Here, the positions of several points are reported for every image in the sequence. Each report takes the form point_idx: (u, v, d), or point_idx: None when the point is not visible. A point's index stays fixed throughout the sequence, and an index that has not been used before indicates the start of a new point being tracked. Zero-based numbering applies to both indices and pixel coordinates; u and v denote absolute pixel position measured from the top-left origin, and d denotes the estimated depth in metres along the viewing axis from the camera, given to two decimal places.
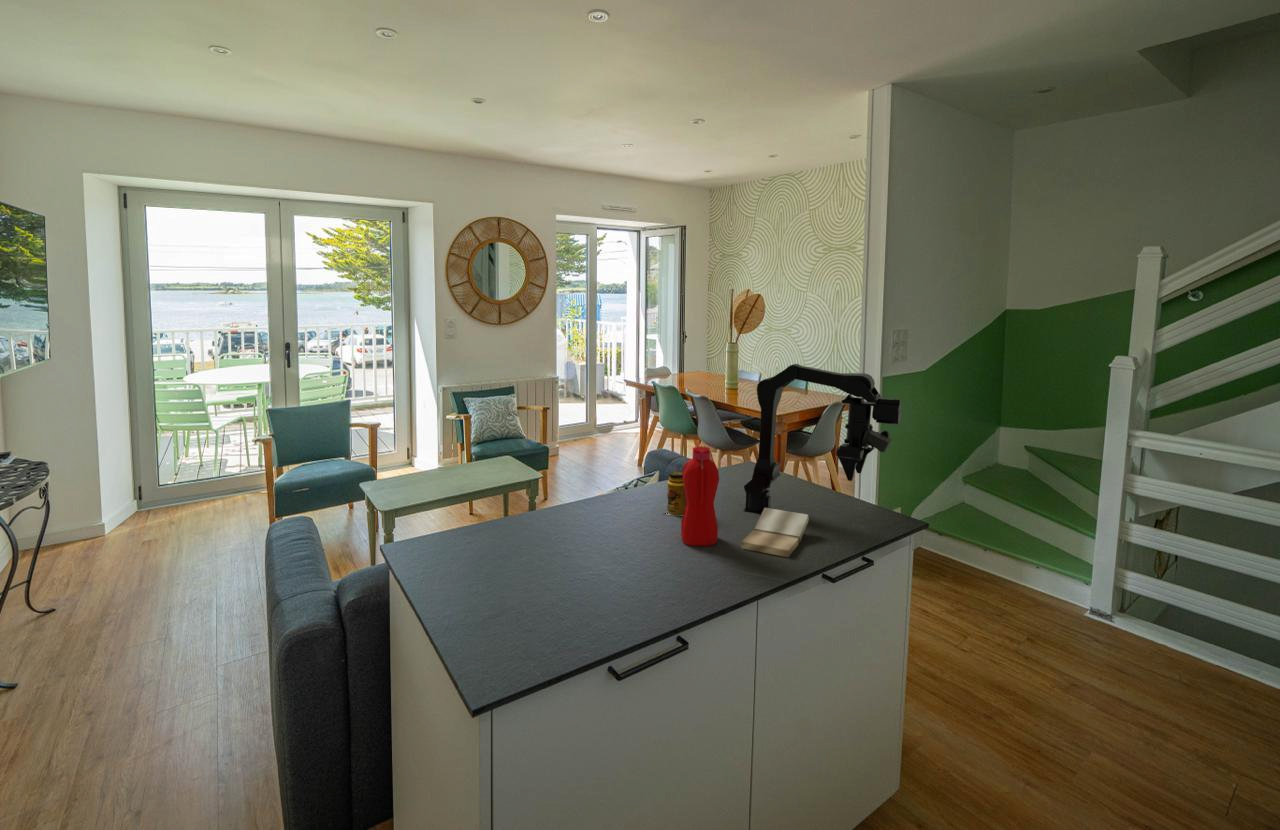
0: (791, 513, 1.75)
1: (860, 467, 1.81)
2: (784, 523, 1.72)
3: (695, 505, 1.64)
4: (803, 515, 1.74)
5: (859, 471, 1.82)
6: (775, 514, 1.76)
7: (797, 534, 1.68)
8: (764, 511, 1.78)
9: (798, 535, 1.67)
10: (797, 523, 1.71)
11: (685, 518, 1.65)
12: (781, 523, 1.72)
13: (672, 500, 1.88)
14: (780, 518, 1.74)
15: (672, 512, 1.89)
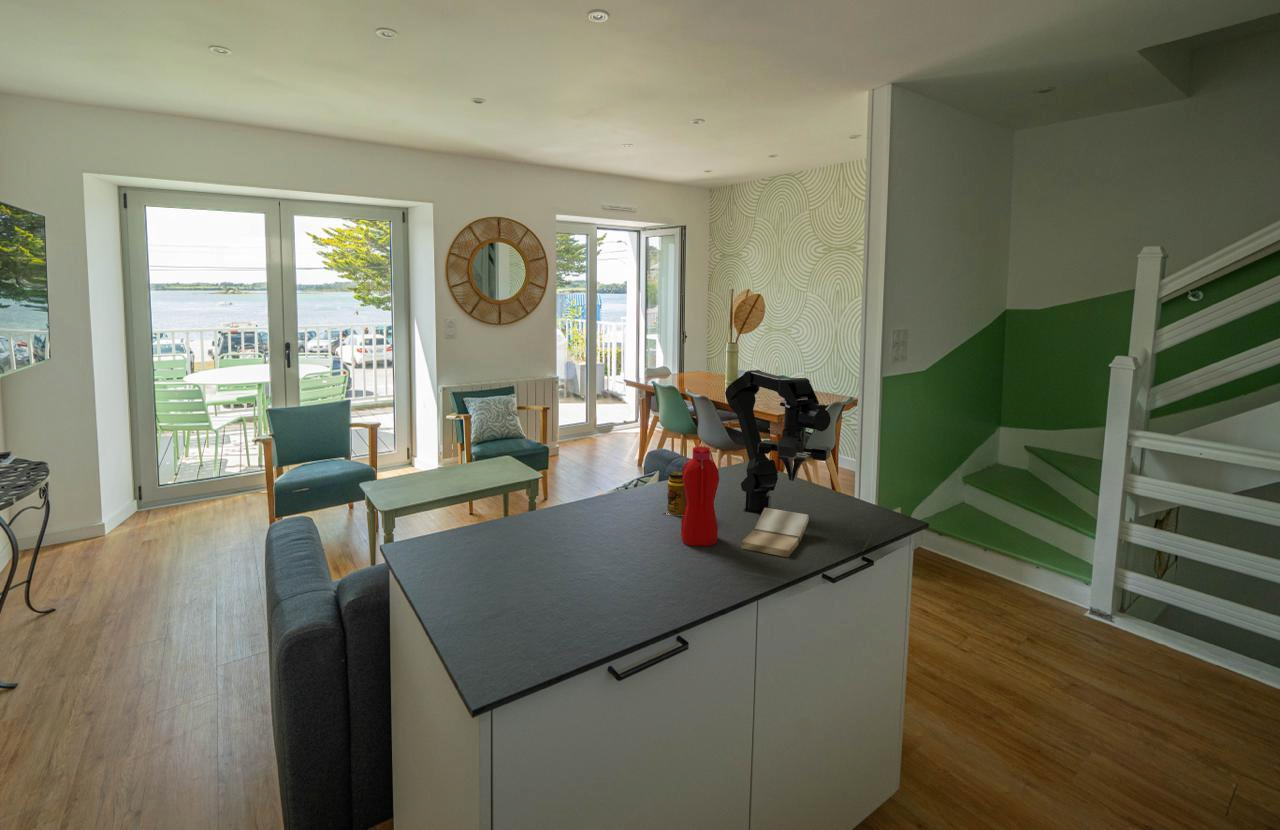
0: (791, 513, 1.75)
1: None
2: (784, 523, 1.72)
3: (695, 505, 1.64)
4: (803, 515, 1.74)
5: None
6: (775, 514, 1.76)
7: (797, 534, 1.68)
8: (764, 511, 1.78)
9: (798, 535, 1.67)
10: (797, 523, 1.71)
11: (685, 518, 1.65)
12: (781, 523, 1.72)
13: (672, 500, 1.88)
14: (780, 518, 1.74)
15: (672, 512, 1.89)
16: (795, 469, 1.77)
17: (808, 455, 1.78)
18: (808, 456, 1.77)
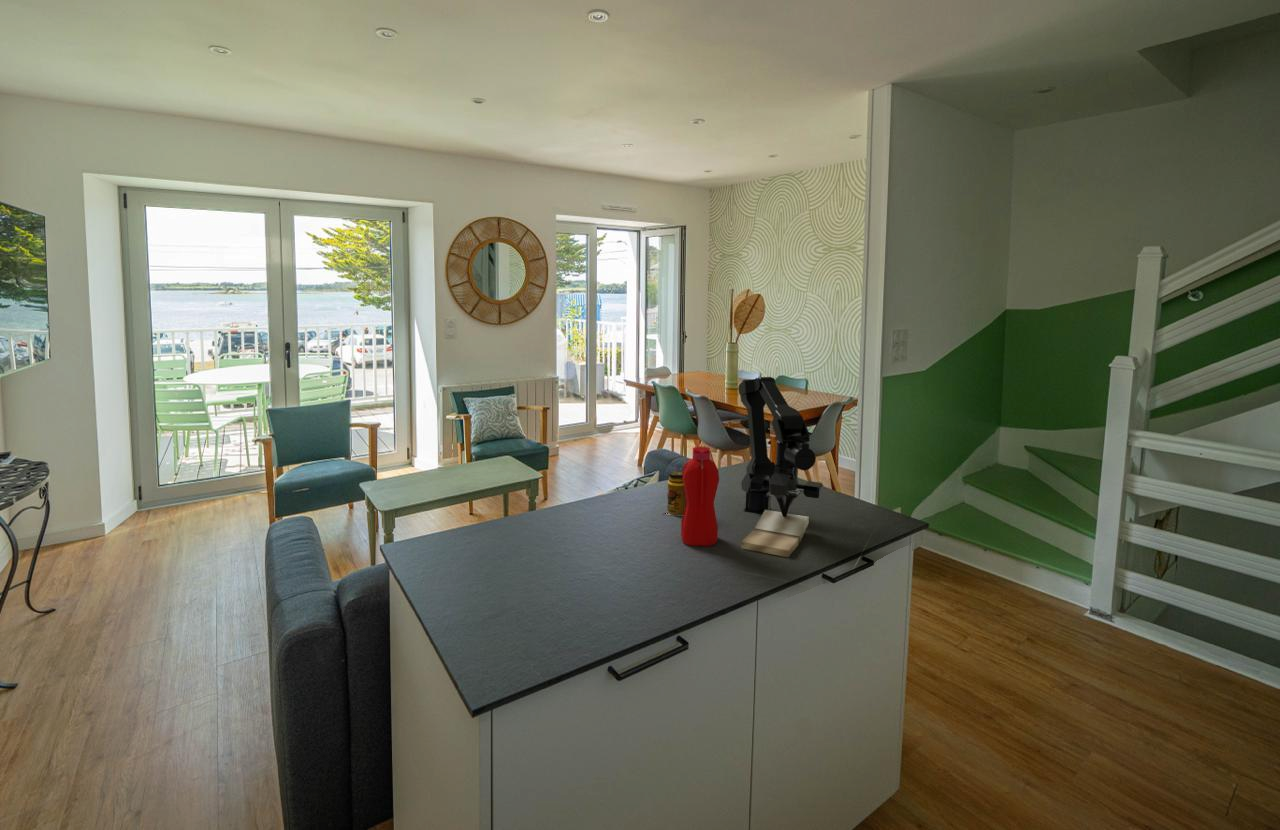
0: (791, 515, 1.76)
1: None
2: (784, 524, 1.72)
3: (695, 505, 1.64)
4: (803, 517, 1.74)
5: None
6: (776, 516, 1.76)
7: (797, 534, 1.68)
8: (764, 513, 1.78)
9: (798, 535, 1.67)
10: (797, 523, 1.72)
11: (685, 518, 1.65)
12: (782, 524, 1.72)
13: (672, 500, 1.88)
14: (780, 520, 1.74)
15: (672, 512, 1.89)
16: (787, 505, 1.73)
17: (800, 490, 1.75)
18: (800, 492, 1.74)
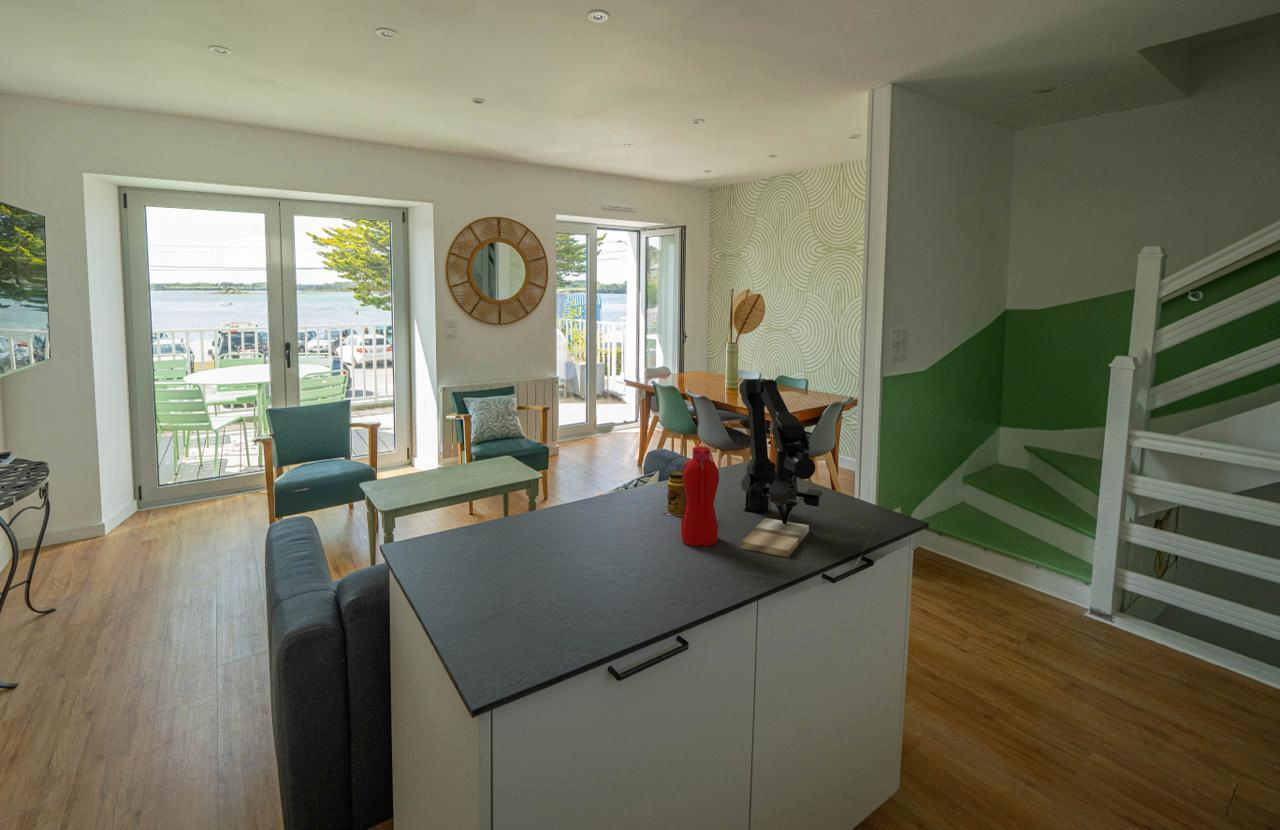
0: (792, 523, 1.77)
1: None
2: (785, 527, 1.73)
3: (695, 505, 1.64)
4: (804, 525, 1.75)
5: None
6: (776, 522, 1.77)
7: (798, 533, 1.68)
8: (765, 519, 1.79)
9: (799, 534, 1.68)
10: (798, 528, 1.73)
11: (685, 518, 1.65)
12: (782, 527, 1.73)
13: (672, 500, 1.88)
14: (781, 524, 1.75)
15: (672, 512, 1.89)
16: (787, 513, 1.74)
17: (800, 498, 1.76)
18: (800, 499, 1.75)
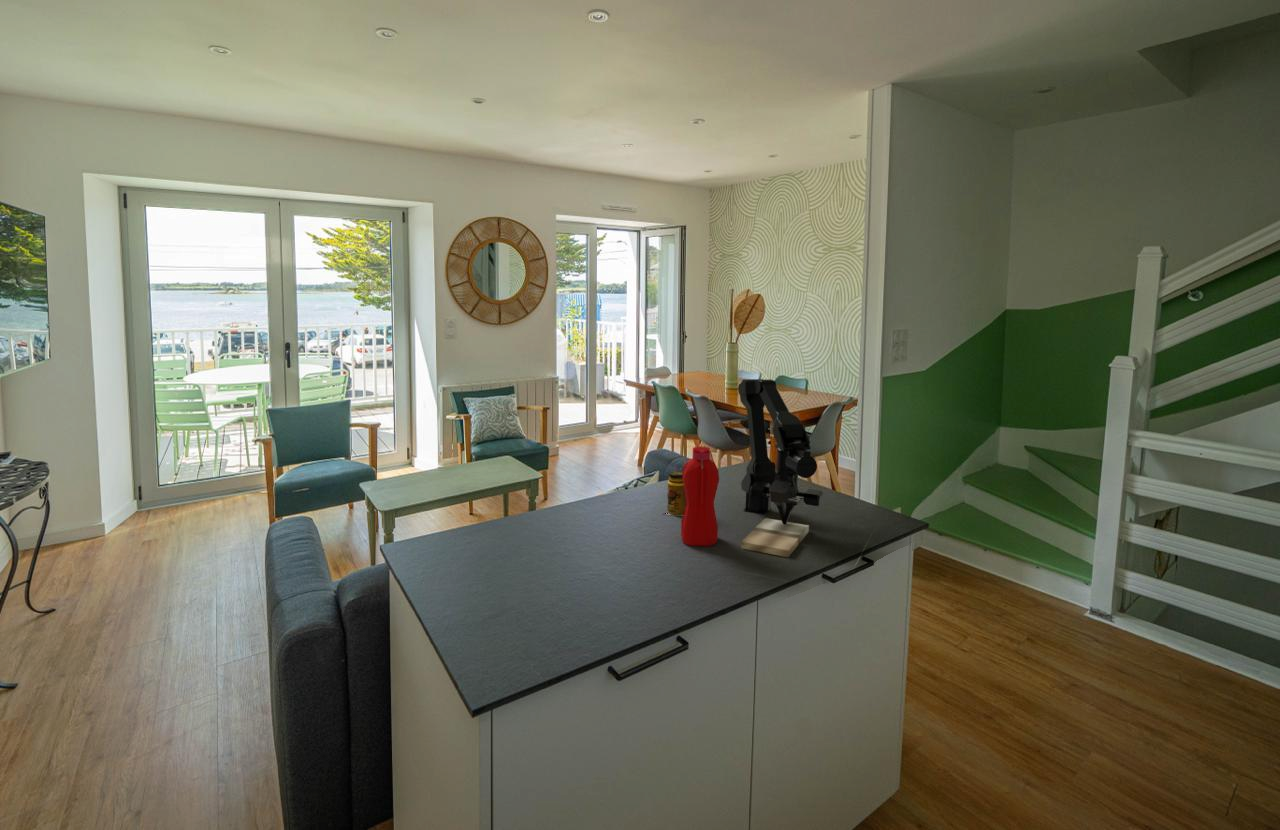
0: (792, 523, 1.77)
1: None
2: (785, 527, 1.73)
3: (695, 505, 1.64)
4: (804, 525, 1.75)
5: None
6: (776, 522, 1.77)
7: (798, 533, 1.68)
8: (765, 519, 1.79)
9: (799, 534, 1.68)
10: (798, 528, 1.73)
11: (685, 518, 1.65)
12: (782, 527, 1.73)
13: (672, 500, 1.88)
14: (781, 524, 1.75)
15: (672, 512, 1.89)
16: (787, 513, 1.74)
17: (800, 498, 1.76)
18: (800, 499, 1.75)
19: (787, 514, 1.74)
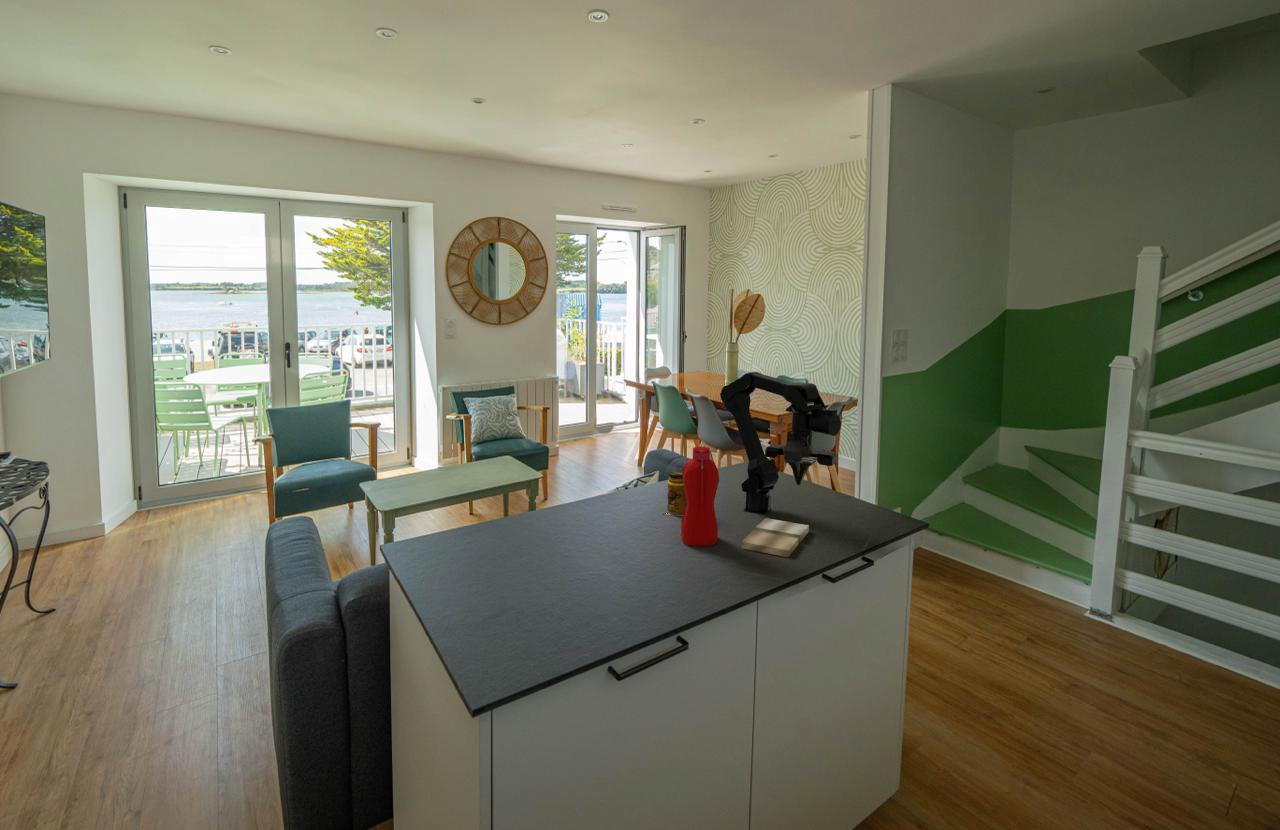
0: (792, 523, 1.77)
1: None
2: (785, 527, 1.73)
3: (695, 505, 1.64)
4: (804, 525, 1.75)
5: None
6: (776, 522, 1.77)
7: (798, 533, 1.68)
8: (765, 519, 1.79)
9: (799, 534, 1.68)
10: (798, 528, 1.73)
11: (685, 518, 1.65)
12: (782, 527, 1.73)
13: (672, 500, 1.88)
14: (781, 524, 1.75)
15: (672, 512, 1.89)
16: (801, 473, 1.78)
17: (815, 460, 1.80)
18: (815, 461, 1.79)
19: (801, 475, 1.79)
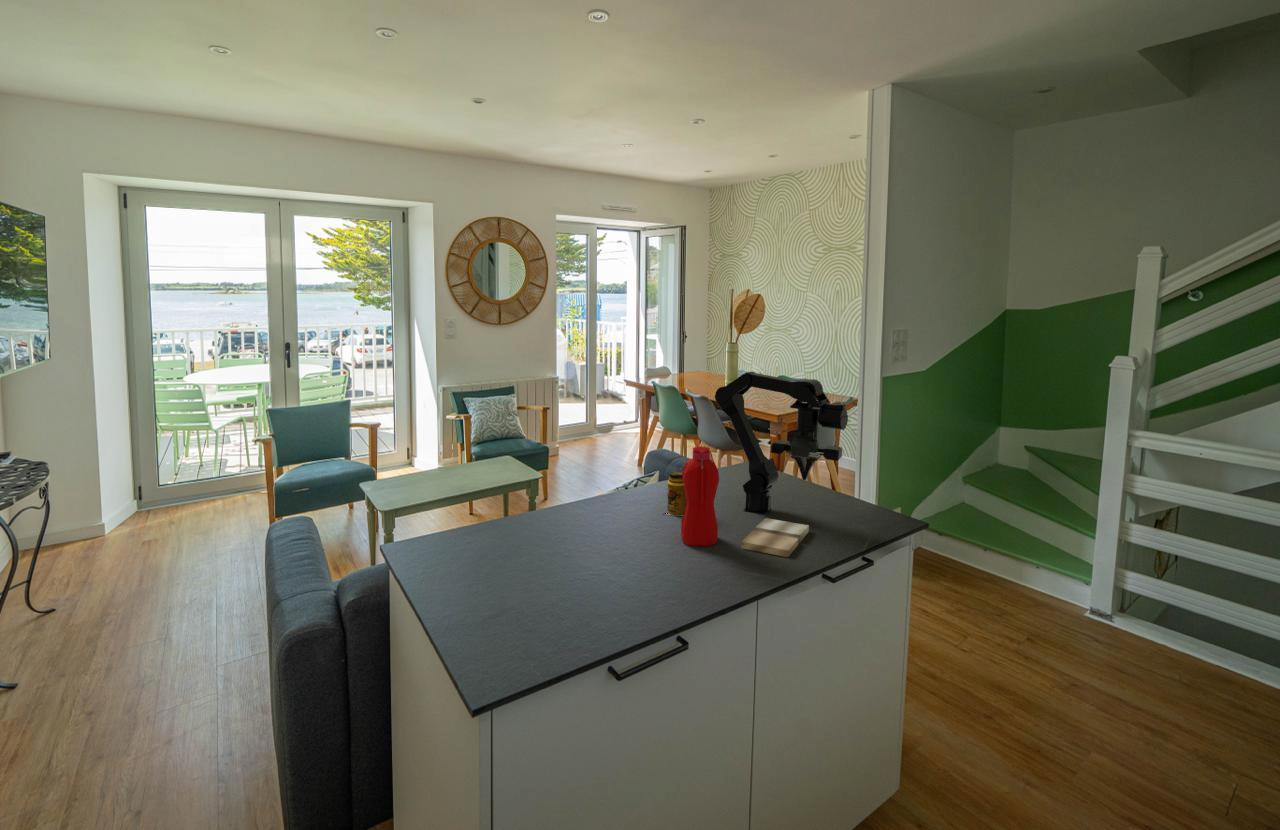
0: (792, 523, 1.77)
1: None
2: (785, 527, 1.73)
3: (695, 505, 1.64)
4: (804, 525, 1.75)
5: None
6: (776, 522, 1.77)
7: (798, 533, 1.68)
8: (765, 519, 1.79)
9: (799, 534, 1.68)
10: (798, 528, 1.73)
11: (685, 518, 1.65)
12: (782, 527, 1.73)
13: (672, 500, 1.88)
14: (781, 524, 1.75)
15: (672, 512, 1.89)
16: (807, 469, 1.81)
17: (820, 455, 1.83)
18: (820, 456, 1.82)
19: (807, 470, 1.81)
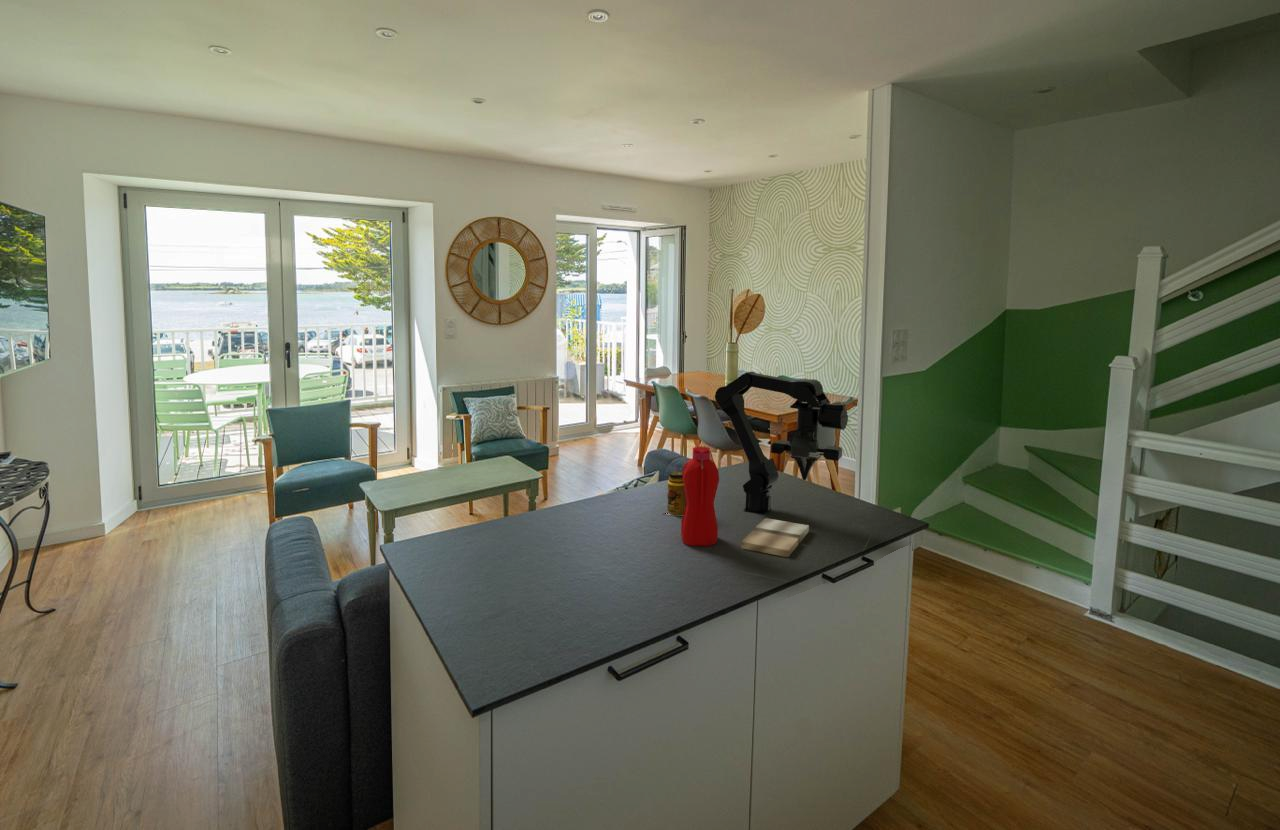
0: (792, 523, 1.77)
1: None
2: (785, 527, 1.73)
3: (695, 505, 1.64)
4: (804, 525, 1.75)
5: None
6: (776, 522, 1.77)
7: (798, 533, 1.68)
8: (765, 519, 1.79)
9: (799, 534, 1.68)
10: (798, 528, 1.73)
11: (685, 518, 1.65)
12: (782, 527, 1.73)
13: (672, 500, 1.88)
14: (781, 524, 1.75)
15: (672, 512, 1.89)
16: (807, 469, 1.81)
17: (820, 455, 1.83)
18: (820, 456, 1.82)
19: (807, 470, 1.81)
